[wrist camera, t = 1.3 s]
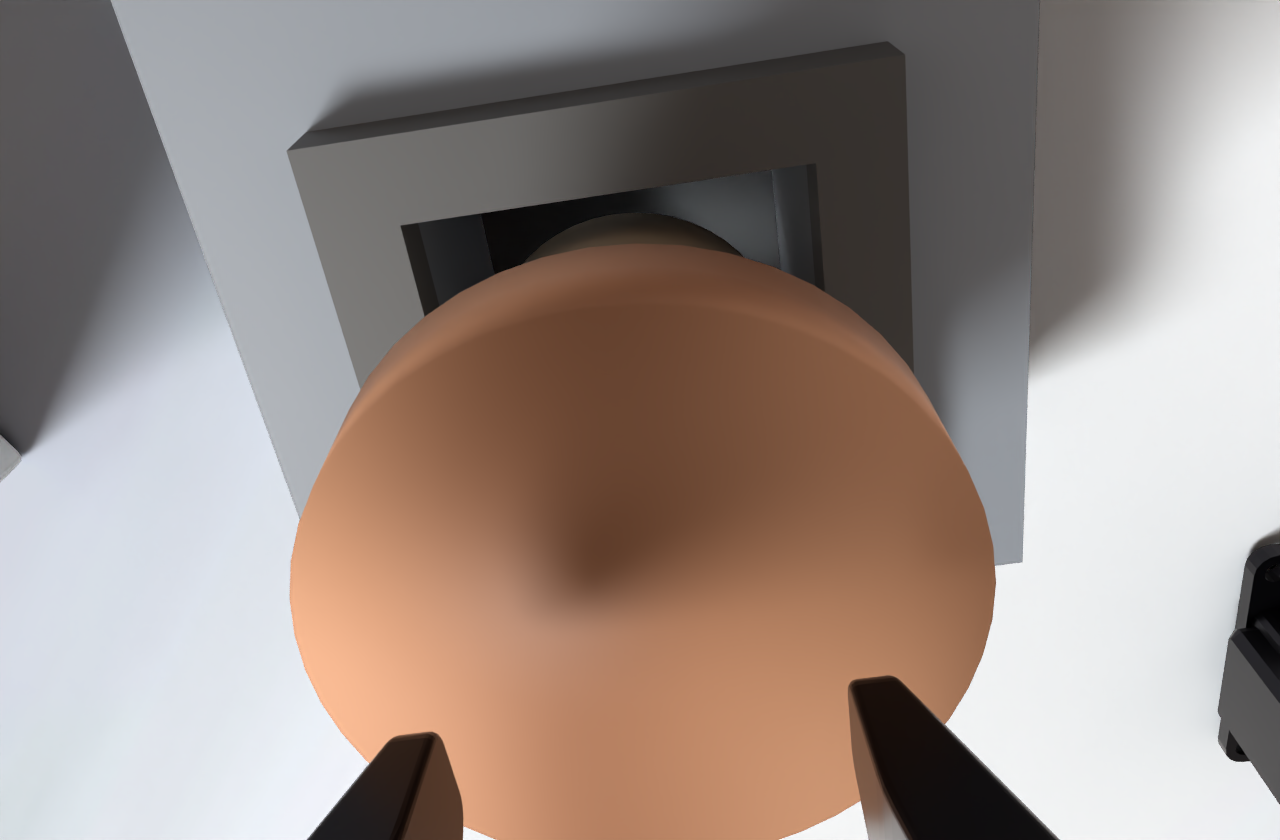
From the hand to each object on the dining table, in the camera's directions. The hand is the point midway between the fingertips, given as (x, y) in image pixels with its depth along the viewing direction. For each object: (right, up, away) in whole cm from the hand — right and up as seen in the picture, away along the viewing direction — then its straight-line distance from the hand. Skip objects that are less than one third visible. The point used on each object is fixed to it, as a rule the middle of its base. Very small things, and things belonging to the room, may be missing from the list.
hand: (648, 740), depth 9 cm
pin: (0, +4, +7) cm, 8 cm away
